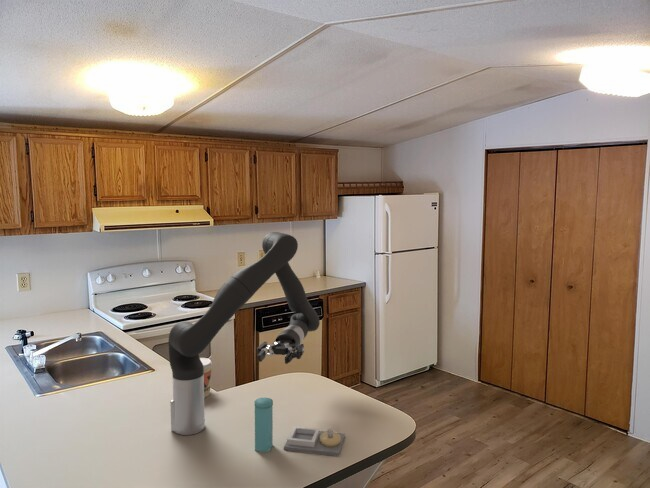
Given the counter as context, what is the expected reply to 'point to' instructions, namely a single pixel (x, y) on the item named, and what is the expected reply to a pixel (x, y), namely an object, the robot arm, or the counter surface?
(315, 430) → the housing
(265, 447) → the lidded tumbler
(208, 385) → the coffee cup
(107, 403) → the counter surface
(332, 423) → the counter surface
